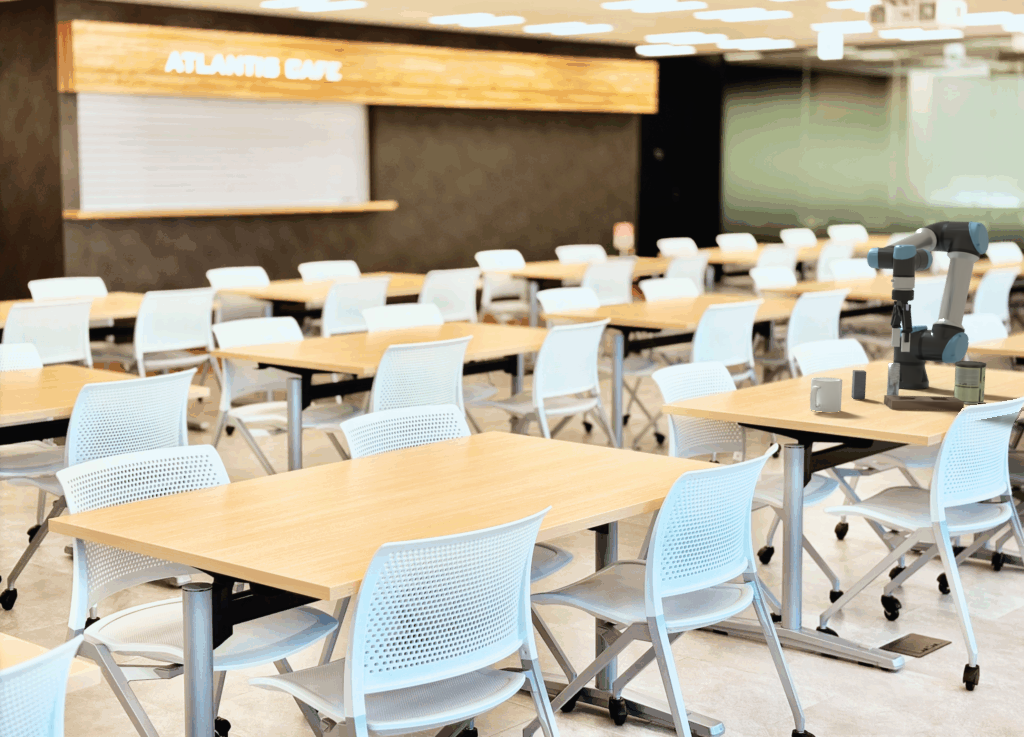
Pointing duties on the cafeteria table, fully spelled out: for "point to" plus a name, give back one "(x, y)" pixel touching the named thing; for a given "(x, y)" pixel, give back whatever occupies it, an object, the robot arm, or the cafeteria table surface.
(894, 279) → the robot arm
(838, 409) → the mug
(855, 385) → the square bit
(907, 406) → the socket block
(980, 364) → the coffee can
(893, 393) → the grey cylinder
